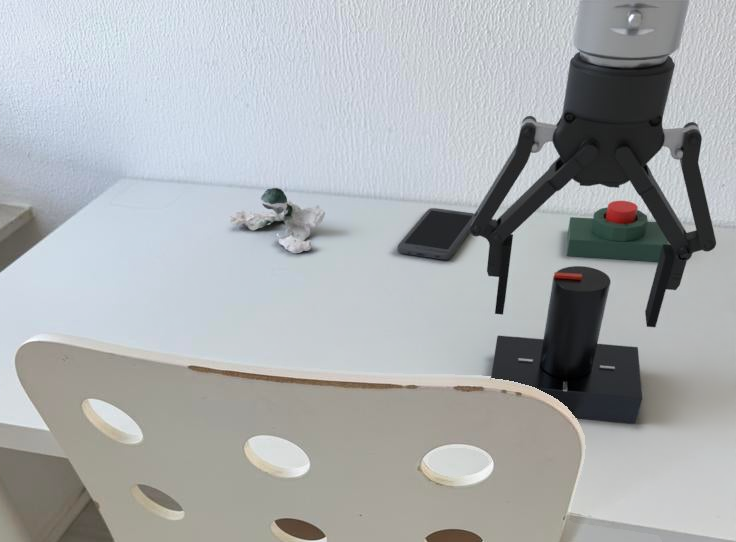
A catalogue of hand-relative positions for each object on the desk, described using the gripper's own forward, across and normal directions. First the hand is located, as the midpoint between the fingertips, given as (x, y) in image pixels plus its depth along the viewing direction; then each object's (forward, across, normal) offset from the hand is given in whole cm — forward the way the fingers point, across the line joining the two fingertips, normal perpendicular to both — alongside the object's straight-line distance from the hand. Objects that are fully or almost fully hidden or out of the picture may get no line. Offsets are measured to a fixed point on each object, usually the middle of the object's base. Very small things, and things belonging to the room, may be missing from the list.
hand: (573, 313), depth 71 cm
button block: (+8, +6, +34) cm, 36 cm away
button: (+5, +6, +34) cm, 35 cm away
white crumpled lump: (+9, -39, +32) cm, 51 cm away
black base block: (+9, 0, 0) cm, 9 cm away
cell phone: (+9, -17, +34) cm, 39 cm away
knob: (+6, 0, 0) cm, 6 cm away
